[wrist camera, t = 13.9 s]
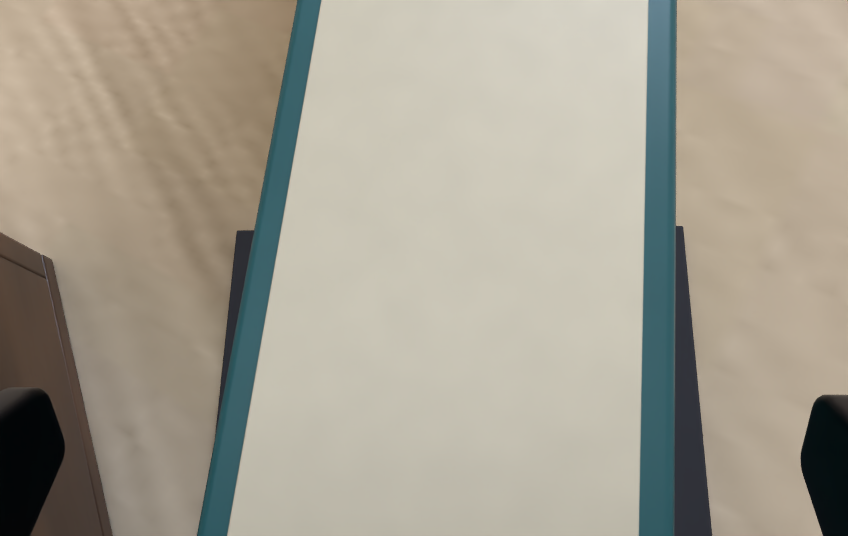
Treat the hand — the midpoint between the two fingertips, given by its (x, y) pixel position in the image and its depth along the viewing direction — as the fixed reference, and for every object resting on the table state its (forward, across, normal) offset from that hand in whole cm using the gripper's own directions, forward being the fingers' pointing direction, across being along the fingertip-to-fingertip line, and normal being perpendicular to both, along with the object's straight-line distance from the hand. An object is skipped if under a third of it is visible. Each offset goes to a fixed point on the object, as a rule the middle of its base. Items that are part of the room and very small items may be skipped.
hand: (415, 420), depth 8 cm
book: (+8, -1, +6) cm, 10 cm away
